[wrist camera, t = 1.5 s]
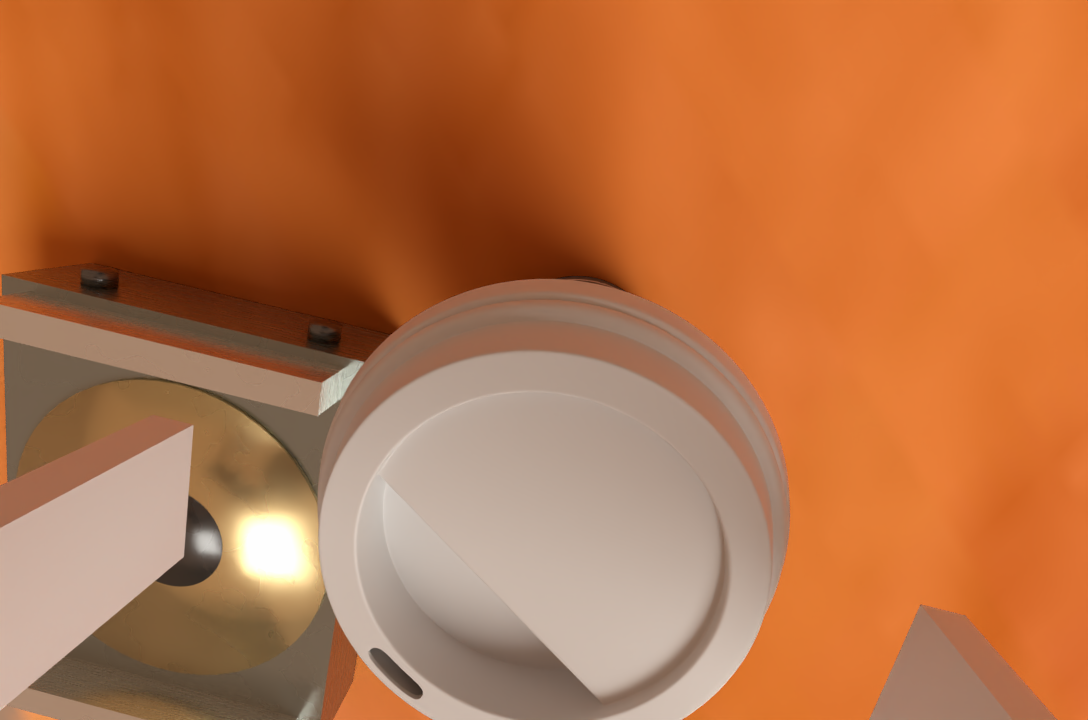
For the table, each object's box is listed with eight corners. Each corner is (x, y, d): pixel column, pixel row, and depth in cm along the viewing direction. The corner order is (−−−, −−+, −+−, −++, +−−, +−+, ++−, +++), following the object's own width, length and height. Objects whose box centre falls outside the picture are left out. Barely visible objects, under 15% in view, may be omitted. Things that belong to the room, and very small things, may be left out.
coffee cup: (427, 281, 25) (180, 399, 10) (656, 200, 23) (738, 208, 9) (508, 488, 27) (395, 825, 12) (723, 427, 25) (881, 736, 11)
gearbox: (90, 249, 26) (-51, 263, 20) (410, 325, 25) (355, 361, 20) (86, 612, 31) (-28, 703, 25) (352, 681, 30) (295, 790, 25)
